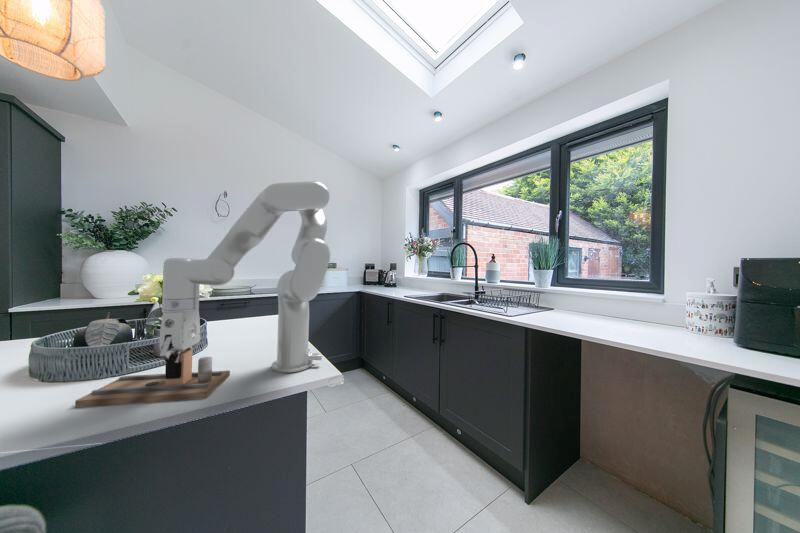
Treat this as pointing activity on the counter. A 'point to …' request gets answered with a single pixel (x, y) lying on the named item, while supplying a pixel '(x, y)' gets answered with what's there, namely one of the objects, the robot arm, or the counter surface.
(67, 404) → the counter surface
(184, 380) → the block
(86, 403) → the board
